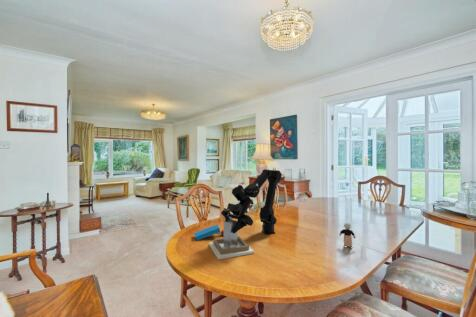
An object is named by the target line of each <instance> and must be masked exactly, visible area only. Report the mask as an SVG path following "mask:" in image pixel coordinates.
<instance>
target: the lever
mask: <svg viewBox="0 0 476 317" xmlns="http://www.w3.org/2000/svg"><path fill="white" fill-rule="evenodd" d="M193 233H194V236H195V241H200V240H203V239H205V238H208V237H211V236H214V235H217V234H218V235H221V236H222V237H224V229H222V230H221V229H220V227H219V225H218V224H214V225H211V226H209V227H207V228H204V229H201V230H198V231H196V232H193Z"/></svg>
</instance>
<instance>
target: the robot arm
mask: <svg viewBox="0 0 476 317" xmlns="http://www.w3.org/2000/svg"><path fill="white" fill-rule="evenodd" d="M282 175H283V174H282V172H281V171H280V169H279V170H278V169H277V170H276V169H275V170H274V169H263V170H262V171H261V173H260V174H259V175H258V177H257V178H256V179H255V180H254V181H253V182H252V183H250V184H248V185H247V186H245V187H243V186H242V184H238V186H235V187H234V188H232V190H231V195H232V196H234V198H235V199H236V201H238V203H235V204H234V203H231V202H228V204H227V208H226V209H223V210H222V211H221V212H220V214H221V215H222V217H223V218H224V219H225V220H224V221H226V220H230V219H231V220H233V219H236V221H237V224H236V226H235V228H234V230H233V233H236V232H237V233H238V232H239V231H240V230H242V229H243V228H244V227H248V226H250V227H251V226H253V224H254V220H253V219H252V217H251V216H250V215H247V213H248V212H249V211H248V209H249V207H250V205H254V200H253V198H257V197H258V195H259V193H260V192H261V191H260V189H261V188H262V186H263V185H264V184H265V182H266V181H268V182H267V183H268V187H267V190H266V197H265V201H264V205H263V206H262V207H260V210H259V219H260V222H261V223H262V227H261V228H262V229H261V232H262V233H264V234H265V235H272V234H276V231H275V225H276V224H277V222H278V219H277V218H276V216H275V211H274V208H273V207H274V201H275V195H276V192H277V191H276V190H277V185H278V184H279V183H280V182H281V178H282Z"/></svg>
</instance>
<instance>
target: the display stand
mask: <svg viewBox="0 0 476 317" xmlns="http://www.w3.org/2000/svg"><path fill="white" fill-rule="evenodd" d="M208 245H209V247H210V249H211V250H212V252H213V253H214V255H215V256H216V258H217V260H222V259H223V260H225V259H227V258H229V259H230V258H234V257H241V256H246V255H252V254H255V250H254V249H253V248H252V247H250V245H249V244H247V243H246V241H245V240H244V239H242V238H241V237H240V236H239V235H237V247H232V248H226V247H224V237H223V238H216V239H215V238H214V239H213V241H210V242H209V243H208Z"/></svg>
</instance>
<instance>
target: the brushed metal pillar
mask: <svg viewBox="0 0 476 317" xmlns="http://www.w3.org/2000/svg"><path fill="white" fill-rule="evenodd" d="M237 221H238V220H234V219H230V220H226V221H225V220H223V230H224V236H223V238H224V247H226V248H232V247H237V236H238V231H237V232H236V233H233V230H234V228H235V226H236V224H237Z"/></svg>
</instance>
